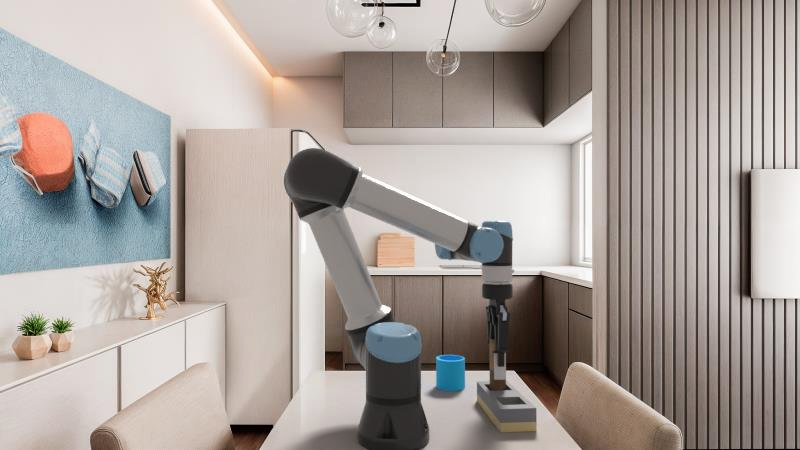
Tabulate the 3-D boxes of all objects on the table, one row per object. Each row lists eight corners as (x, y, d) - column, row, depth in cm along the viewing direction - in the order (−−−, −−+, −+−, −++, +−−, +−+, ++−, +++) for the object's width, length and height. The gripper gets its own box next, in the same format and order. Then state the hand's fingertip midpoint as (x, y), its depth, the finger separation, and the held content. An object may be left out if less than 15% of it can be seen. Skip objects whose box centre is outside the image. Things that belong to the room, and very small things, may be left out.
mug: (467, 390, 146) (467, 361, 146) (438, 391, 146) (438, 361, 146) (460, 379, 158) (460, 351, 158) (433, 379, 158) (432, 352, 158)
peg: (498, 400, 129) (497, 342, 129) (486, 396, 132) (486, 339, 133) (509, 397, 131) (509, 340, 132) (497, 393, 135) (497, 338, 135)
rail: (536, 431, 116) (536, 408, 116) (500, 432, 115) (500, 409, 115) (507, 400, 138) (507, 380, 138) (476, 400, 137) (476, 381, 137)
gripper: (522, 285, 125) (522, 385, 124) (502, 279, 141) (503, 368, 140) (491, 285, 124) (491, 386, 124) (474, 280, 140) (475, 369, 140)
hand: (497, 376), depth 132 cm, fingers closed on peg, 3 cm apart
